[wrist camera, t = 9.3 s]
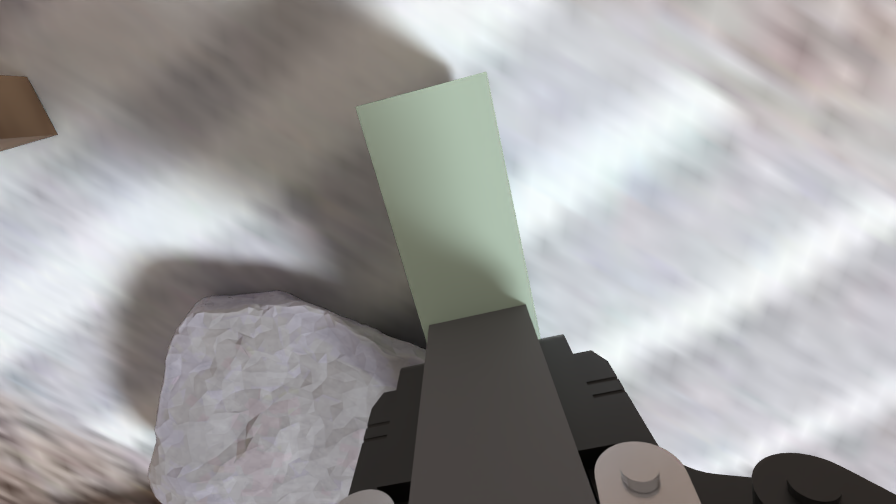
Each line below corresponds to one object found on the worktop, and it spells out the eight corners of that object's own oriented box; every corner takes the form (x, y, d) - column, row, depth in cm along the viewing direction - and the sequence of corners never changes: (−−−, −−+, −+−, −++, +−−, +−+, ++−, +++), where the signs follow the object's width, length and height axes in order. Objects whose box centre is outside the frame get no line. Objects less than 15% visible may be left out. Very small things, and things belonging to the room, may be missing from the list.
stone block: (215, 261, 19) (187, 465, 20) (147, 284, 14) (117, 549, 16) (474, 308, 20) (433, 499, 22) (491, 344, 16) (437, 586, 17)
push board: (387, 105, 14) (139, 115, 3) (475, 82, 14) (563, -4, 3) (479, 435, 19) (518, 940, 7) (547, 422, 18) (696, 928, 7)
